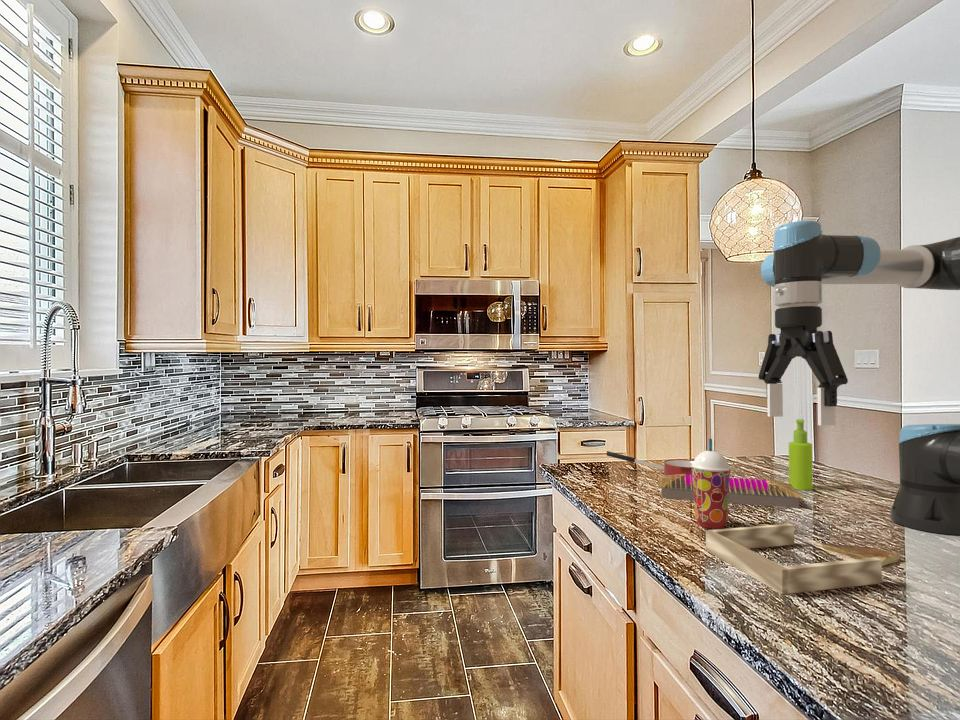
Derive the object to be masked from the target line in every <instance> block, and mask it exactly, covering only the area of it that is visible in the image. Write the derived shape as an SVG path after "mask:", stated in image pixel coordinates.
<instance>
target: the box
mask: <svg viewBox="0 0 960 720" xmlns="http://www.w3.org/2000/svg"><path fill="white" fill-rule="evenodd" d="M794 545H795V524H792V523H789V522H788V523H780V524H768V525H755V526H742V527H732V528H731V527H730V528H720V529H707V530H705V551H707V552H709V553H710V554H712V555H713V556H715V557H717V558H718V559H720V560H722V561H724V562H726V563H728V564H729V565H731V566H732V567H734V568H736V569H738V570H739V571H741V572H743V573H744V574H747V575H748V576H750V577H752V578H753V579H755V580H757V581H759V583H762V584H764V585H765V586H767V587H769V588H770V589H772V590H774V591H776V592H778V593H779V594H781V595H789V594H790V595H791V594H798V593H807V592H817V591H825V590H834V589H843V588H851V587H861V586H869V585H870V586H871V585H876V584H877V585H878V584H882V583H883V579H882V578H883V577H882V576H883V574H882V573H883V572H882V569H883V568H882V567H883V566H882V560H880V559H878V558H875V557H873V558H864V559H856V558H853V559H847V560H845V559H844V560H835V561H827V562H826V561H825V562H817V563H816V562H815V563H806V564H805V563H804V564H796V565H795V564H794V565H787V566H786V565H785V566H783V565H781V564H778V563H777V562H774V561H773V560H771V559H769V558H767V557H765V556H763V555H761V554H759V553H757V552H755V551H753V550H751V549H760V548H762V549H763V548H768V547H769V548H771V547H780V546H794Z"/></svg>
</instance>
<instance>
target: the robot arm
mask: <svg viewBox="0 0 960 720" xmlns="http://www.w3.org/2000/svg"><path fill="white" fill-rule="evenodd" d="M773 239H774V240H773V248H772V249H773V250H772V251H773V253H771V254H770V255H768V256H767V257H764V259H763V261H762V262H761V266H760V275H761V278H762V280H763V282H764V283H766V285H768V286H770V287H773V288H774V305H775V306H776V307H778V308H776V309H775V310H774V327H775V328H777V329H780V333H769V335H768V341H767V347H766V350H765V354H764V356H763V360H762V363H761V366H760V370H759V373H758V379H759V380H761V381H764V383H765V384H766V399H767V403H766V404H767V405H766V406H767V417H770V418H773V417H774V418H775V417H780V418H781V417H783V415H784V413H783V407H784V405H783V403H784V402H783V397H784V396H783V394H784V393H783V381H782V380H781V379H782V377H783V376H784V374H785V372H786V371H787V369H788V367H789V365H790V364H791V362H792V360H793V359H795V358H796V357H800V358H801V359H804V360H805V361H806V362H807V363H806V364H807V365H808V366H809V368H810V370H812V371H811V372H813V374H814V376H815V377H816V379H817V381H818V382H819V385H817V426H821V427H822V426H823V427H824V426H825V427H826V426H836V424H837V423H836V407H837V406H838V388H839V387H840V386H843V385H847V384H848V382H849V379H848V376H847V374H846V372H845V370H844V368H843V367H844V366H843V365H842V363H841V360H840V357H839V354H838V352H837V349H836V347H835V344H834V338H833V333H832V331H831V330H818V329H817V328H820V327H821V326H822V325H823V308H821V306H819V305H820V304H822V303H823V287H822V286H823V285H898V286H900V287H902V288H904V289H922V290H923V289H925V290H941V291H960V236H957V237H954V238H953V237H952V238H949V239H945V240H942V241H941V240H940V241H936V242H932V243H928V244H927V243H926V244H913V245H908V246H906V247H904V248H902V249H881V246H880V245H879V243H878V242H877V241H876V240H875V239H874V238H872V237H869V236H860V235H857V234H853V235H835V234H834V235H830V234H823V231H822V226H821V223H820V222H818V221H815V220H799V221H798V220H796V221H792V222H787V223H785V224H784V223H783V224H781V225H780V226H778V227H777V228H776V229H775V231H774V238H773ZM898 453H899V456H898V459H899V461H898V462H899V463H898V464H899V488H898V490H897V493H896V496H895V498H894V501H893V503H892V506H891V507H890V520H891V521H892V522H895V523H896V524H898V525H901V526H904V527H906V528H911V529H914V530H919V531H923V532H929V533H936V534H944V535H952V536H953V535H957V536H959V535H960V423H934V424H933V423H928V424H925V423H924V424H906V425H903V426H902V427H901V429H900V432H899V441H898Z"/></svg>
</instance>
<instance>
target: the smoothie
mask: <svg viewBox="0 0 960 720" xmlns="http://www.w3.org/2000/svg"><path fill="white" fill-rule="evenodd" d="M693 460H694V462H693V464H691V467H692V480H693V494H694V500H693V508H694V518H695V520H696V521H697V524H698V525H699V526H700V527H702V528H706V529H710V530H717V529H724V528H725V525H726V523H728V513H729V512H728V511H729V503H728V497H729V481H730V478H731V477H730V476H731V469H732V468H731V466H730V465H729V462H728V460H727V459H726V457H725V456H724V455H722V454H721V453H720V452H718V451H715V450H713V439H712V438H709V439H708V450H704V451H701V452H700V453H698V454H697V455H696V456H695V458H694V459H693Z"/></svg>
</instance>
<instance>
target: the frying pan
mask: <svg viewBox="0 0 960 720" xmlns="http://www.w3.org/2000/svg"><path fill="white" fill-rule="evenodd" d="M606 456H607V457H611V458H615V459H618V460H623V461H625V462H630V463H634V464H635V463H637V464H641V465H644V466H648V467H651V468H656V469H660V470H663V473H664V476H667V475H674V477H675V475H678V476H679V478H677V477H676V478H677V479H680V475H679V474H685V475H690V474H691V475H692V467H691V464H693V462H694V460H695V459H684V458H681V459H679V458H677V459H675V458H674V459H668V460H664V462H663V465H661V464H657V463H653V462H649V461H645V460H641V459H636V457H632V456H629V455H628V456H627V455H625V454H624V455H623V454H620V453H615V452H614V451H613V452H612V451H608V450H607V451H606ZM685 475H684V476H682V477H681V479H684V477H685ZM671 478H673V477H672V476H671Z"/></svg>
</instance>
